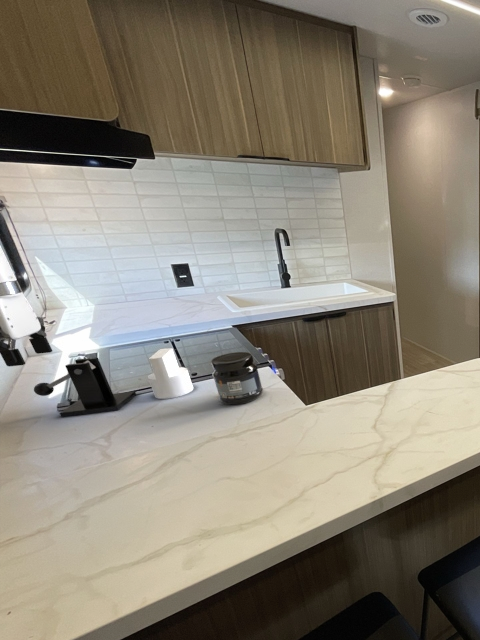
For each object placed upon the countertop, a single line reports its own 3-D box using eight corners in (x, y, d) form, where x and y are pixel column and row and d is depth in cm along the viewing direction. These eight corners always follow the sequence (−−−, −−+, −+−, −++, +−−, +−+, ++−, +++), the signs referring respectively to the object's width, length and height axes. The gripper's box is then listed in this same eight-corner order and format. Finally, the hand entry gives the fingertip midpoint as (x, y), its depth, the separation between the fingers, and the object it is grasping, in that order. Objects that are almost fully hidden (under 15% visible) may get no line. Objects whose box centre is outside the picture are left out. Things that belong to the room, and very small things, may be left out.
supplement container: (250, 387, 119) (240, 349, 115) (271, 394, 115) (262, 355, 110) (212, 400, 111) (200, 360, 106) (234, 409, 106) (221, 367, 102)
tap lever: (39, 400, 103) (26, 390, 101) (48, 394, 106) (35, 384, 104) (91, 372, 104) (80, 362, 103) (99, 368, 107) (87, 357, 106)
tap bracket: (61, 417, 103) (38, 371, 98) (84, 401, 112) (65, 357, 107) (118, 410, 106) (99, 365, 101) (136, 394, 115) (120, 352, 110)
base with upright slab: (161, 388, 119) (147, 350, 114) (197, 383, 122) (184, 346, 117) (149, 401, 111) (134, 360, 107) (188, 395, 114) (175, 356, 110)
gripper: (4, 285, 100) (36, 350, 107) (-59, 298, 85) (-17, 373, 92) (42, 283, 103) (71, 346, 109) (-12, 296, 87) (25, 368, 94)
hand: (31, 358), depth 101 cm, fingers open, 9 cm apart
